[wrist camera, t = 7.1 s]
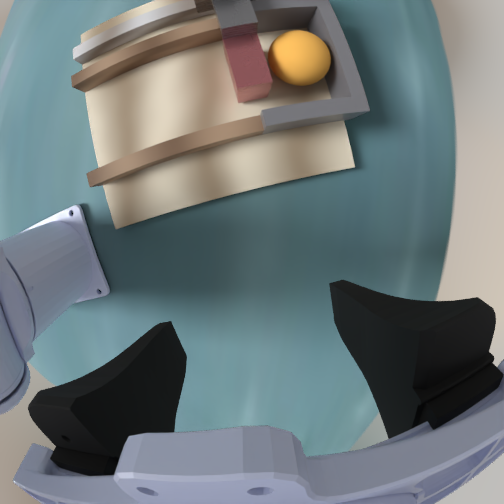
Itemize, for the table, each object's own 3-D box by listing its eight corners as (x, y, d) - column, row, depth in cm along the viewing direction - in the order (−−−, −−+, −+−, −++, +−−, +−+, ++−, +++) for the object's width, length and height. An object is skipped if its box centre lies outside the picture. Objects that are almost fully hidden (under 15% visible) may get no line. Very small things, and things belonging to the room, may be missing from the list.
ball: (342, 83, 15) (289, 96, 17) (325, 36, 14) (274, 50, 16) (332, 69, 12) (267, 86, 14) (311, 13, 11) (250, 34, 13)
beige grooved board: (121, 226, 20) (103, 235, 17) (86, 38, 15) (69, 26, 12) (349, 167, 19) (366, 167, 16) (286, -20, 14) (291, -39, 11)
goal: (261, 134, 17) (266, 126, 14) (230, 27, 15) (228, 4, 11) (350, 119, 17) (370, 110, 14) (315, 17, 14) (326, -4, 11)
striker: (223, 106, 16) (209, 59, 8) (193, -2, 13) (173, -68, 5) (281, 94, 16) (309, 42, 8) (244, -13, 13) (246, -81, 5)
